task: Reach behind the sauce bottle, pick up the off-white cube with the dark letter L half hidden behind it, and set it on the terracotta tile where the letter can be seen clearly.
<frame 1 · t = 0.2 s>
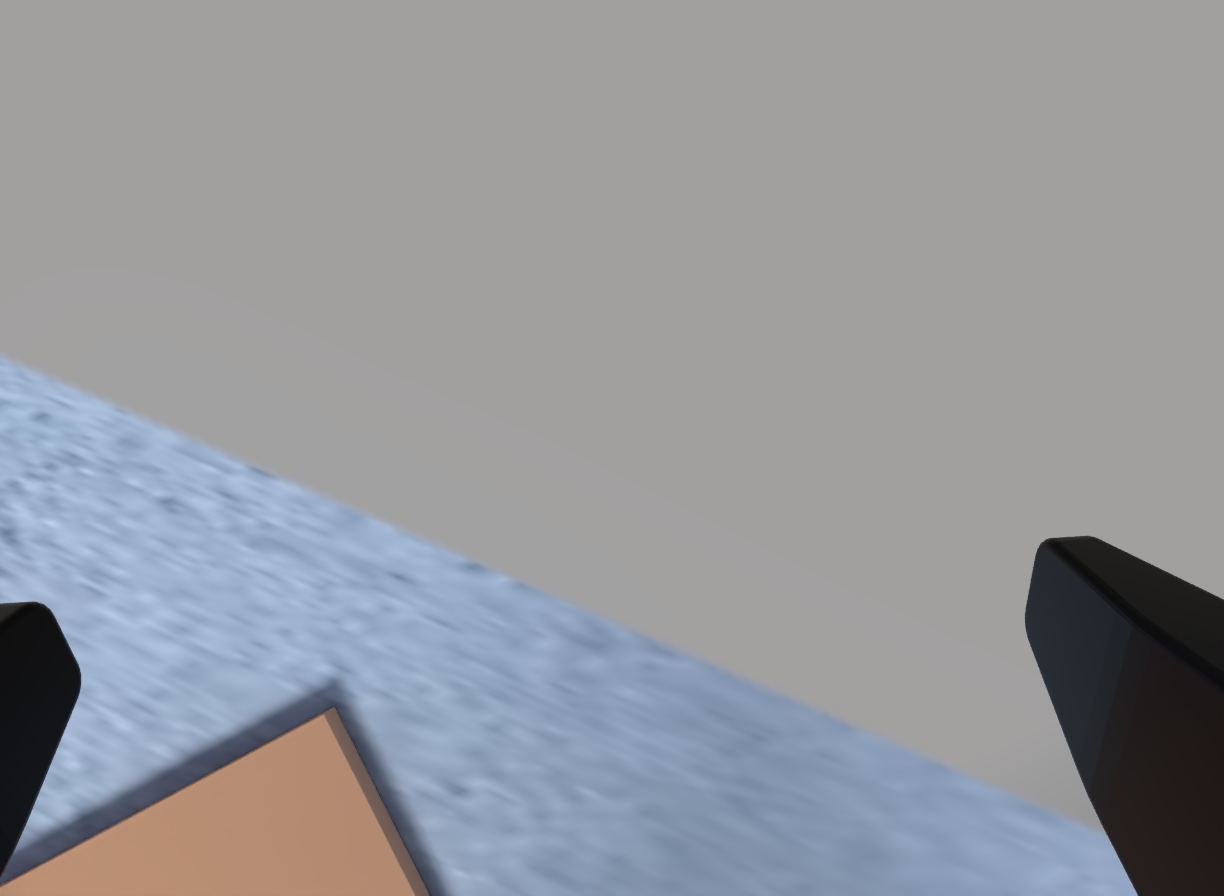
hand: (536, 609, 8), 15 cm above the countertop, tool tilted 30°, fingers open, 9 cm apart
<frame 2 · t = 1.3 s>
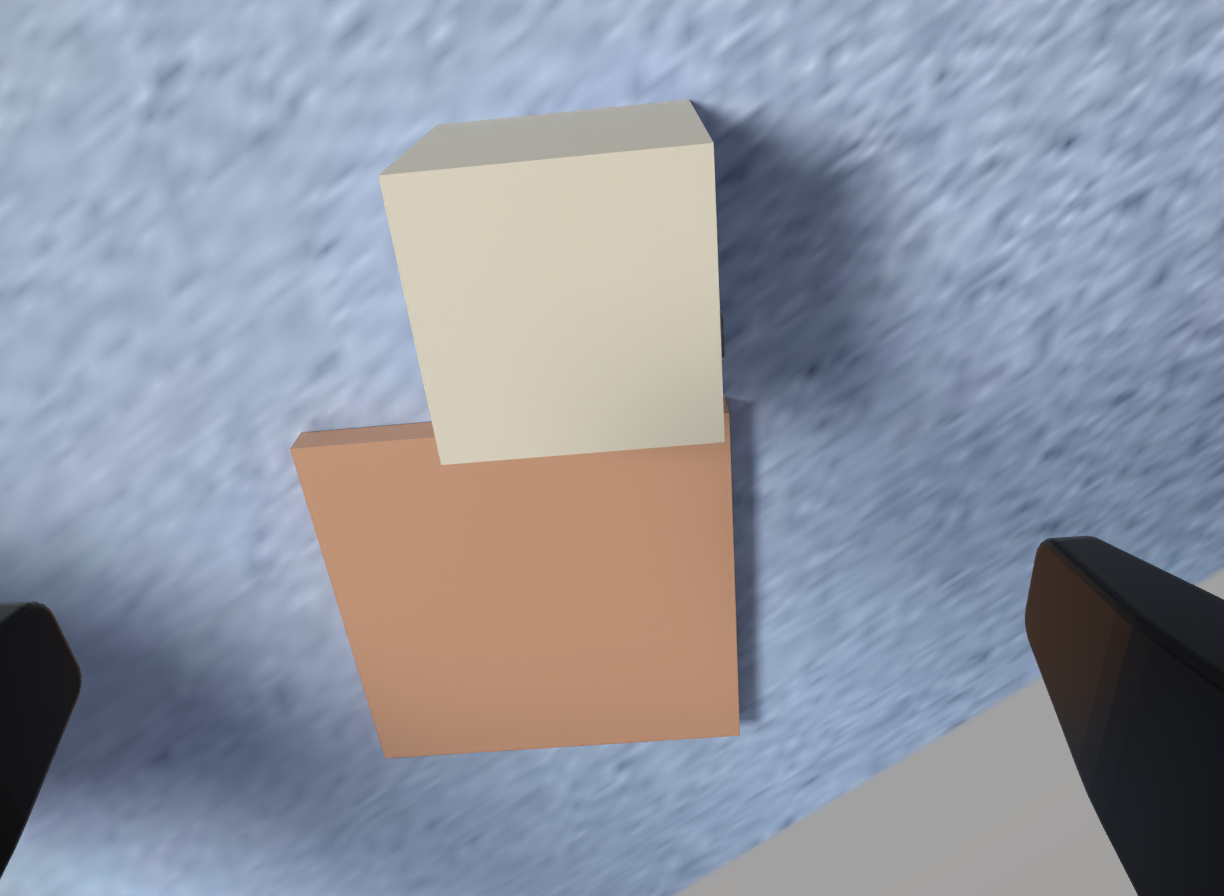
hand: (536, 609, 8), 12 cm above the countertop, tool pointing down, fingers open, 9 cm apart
terracotta tile: (539, 586, 23), on the countertop
lettered cube: (576, 236, 18), on the countertop
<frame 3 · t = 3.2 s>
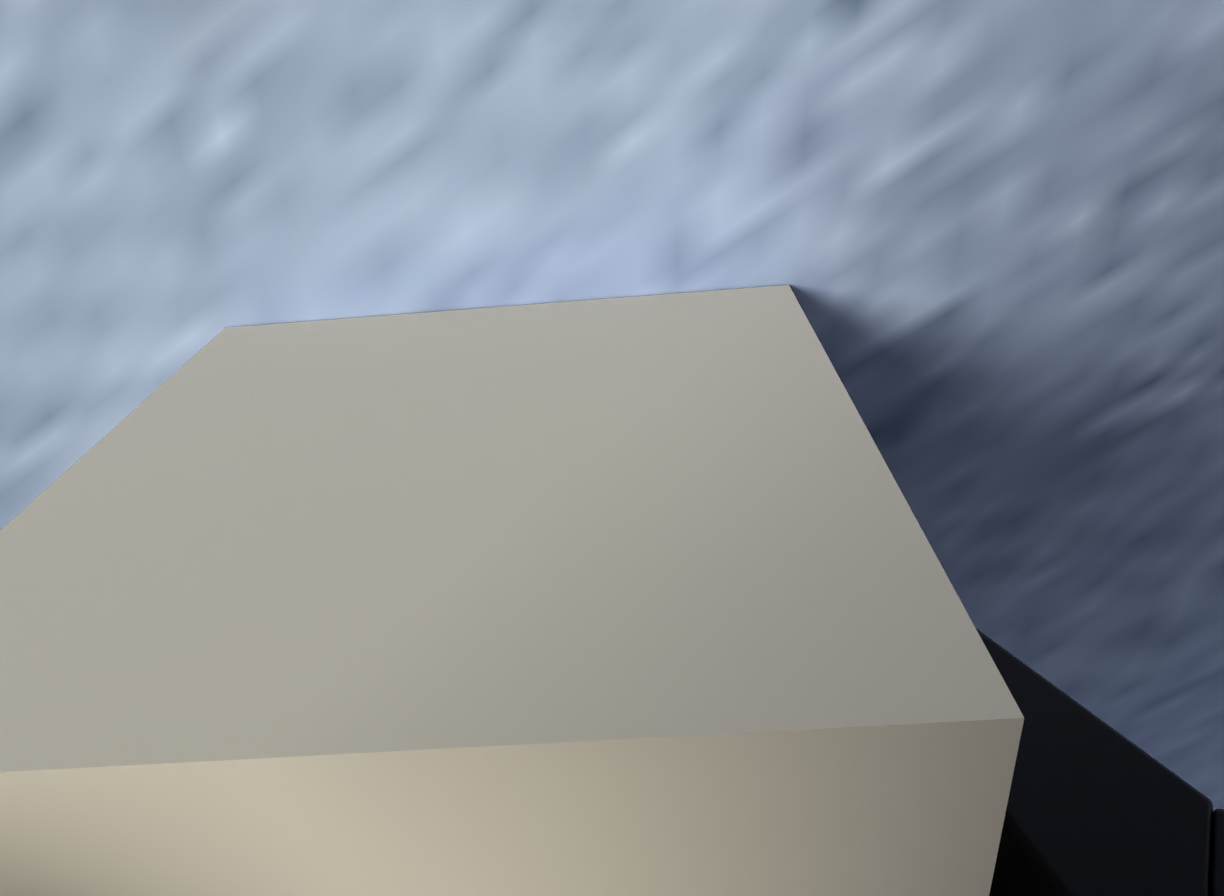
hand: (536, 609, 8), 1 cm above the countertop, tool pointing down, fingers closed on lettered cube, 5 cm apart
lettered cube: (537, 540, 9), on the countertop, touching gripper
when the fingers open (3 cm above the countertop, at t = 7.7 s): lettered cube drops 1 cm, resting on terracotta tile.
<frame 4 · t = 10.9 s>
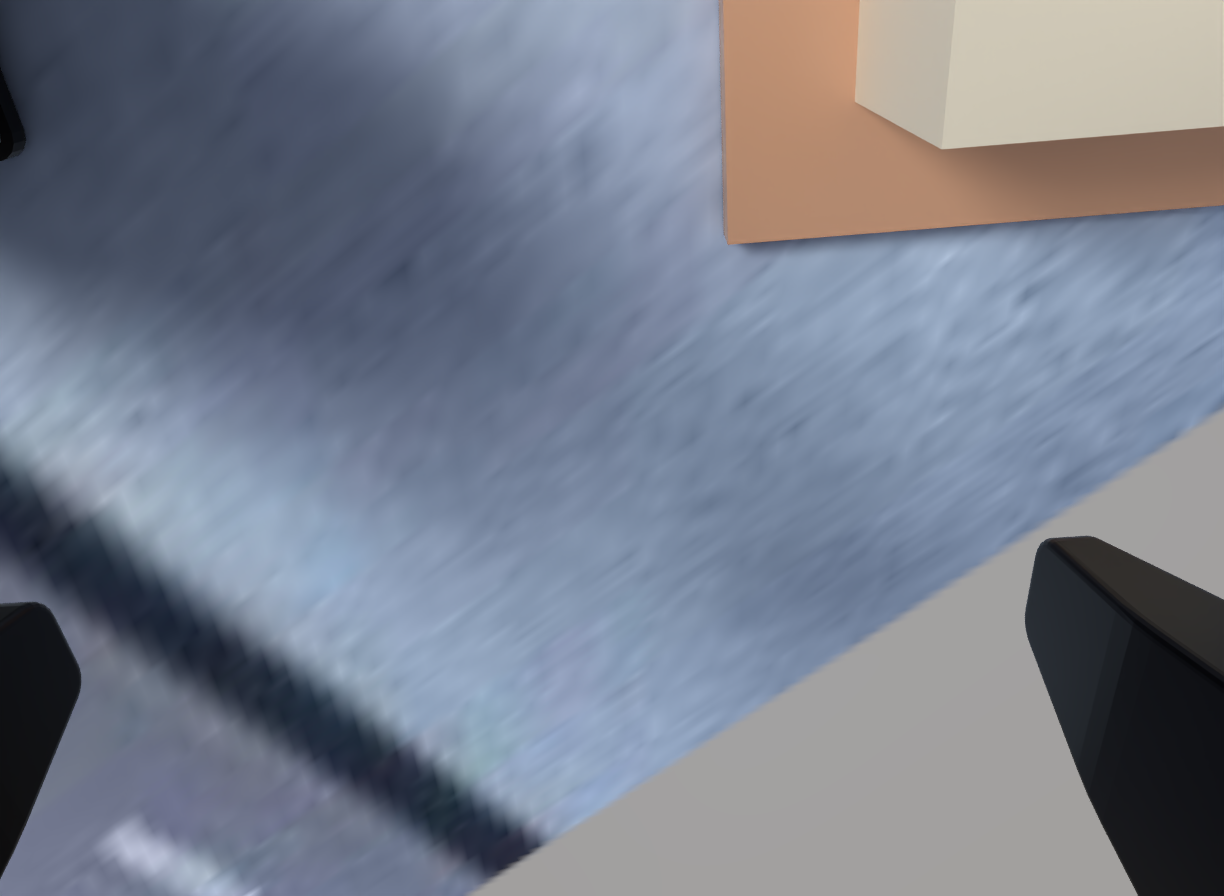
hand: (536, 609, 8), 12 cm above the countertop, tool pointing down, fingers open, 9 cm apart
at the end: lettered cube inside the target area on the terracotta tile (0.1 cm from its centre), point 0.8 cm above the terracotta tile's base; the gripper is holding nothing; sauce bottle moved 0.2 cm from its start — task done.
